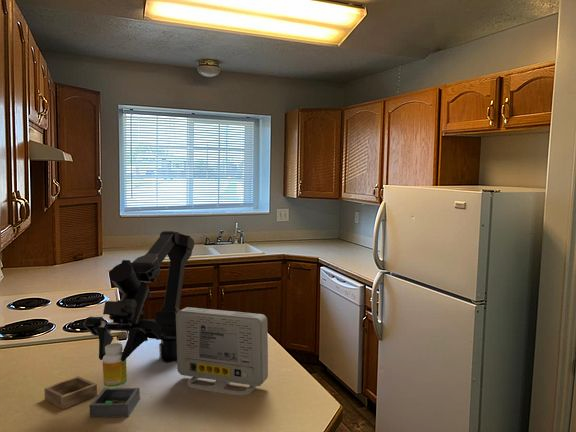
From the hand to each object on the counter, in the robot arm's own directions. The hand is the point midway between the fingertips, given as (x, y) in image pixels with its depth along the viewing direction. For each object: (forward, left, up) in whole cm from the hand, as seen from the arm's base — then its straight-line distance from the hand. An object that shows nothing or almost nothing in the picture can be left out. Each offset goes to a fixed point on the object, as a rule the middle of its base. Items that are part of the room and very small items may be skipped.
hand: (111, 360), depth 112 cm
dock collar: (-1, -1, -13) cm, 13 cm away
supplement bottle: (-1, -1, -7) cm, 7 cm away
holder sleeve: (+9, -12, -13) cm, 20 cm away
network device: (-28, -1, -13) cm, 31 cm away
